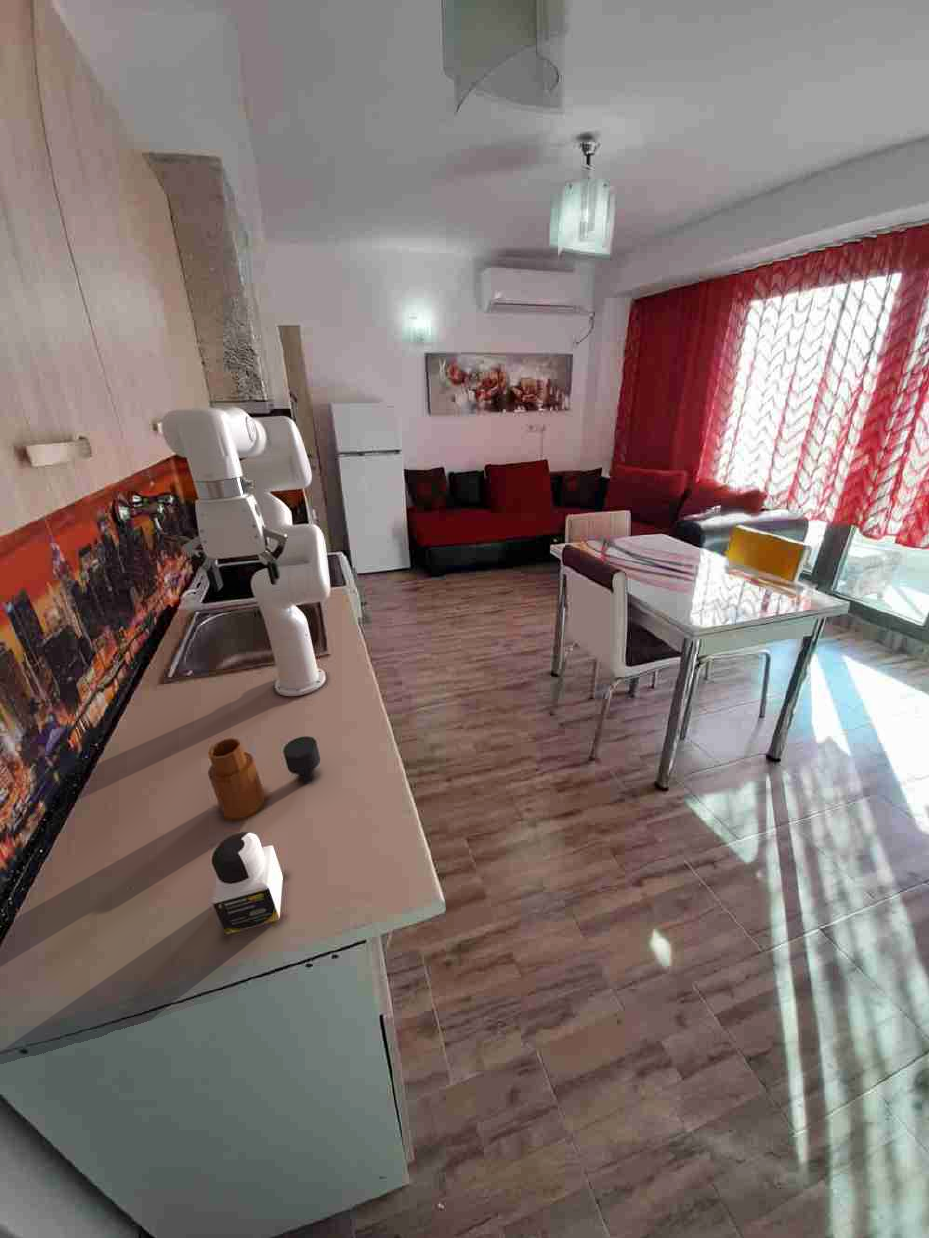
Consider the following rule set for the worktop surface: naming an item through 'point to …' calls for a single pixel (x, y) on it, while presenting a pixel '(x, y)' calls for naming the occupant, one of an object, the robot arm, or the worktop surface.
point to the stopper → (302, 757)
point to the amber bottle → (235, 779)
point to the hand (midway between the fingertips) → (247, 585)
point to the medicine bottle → (246, 883)
